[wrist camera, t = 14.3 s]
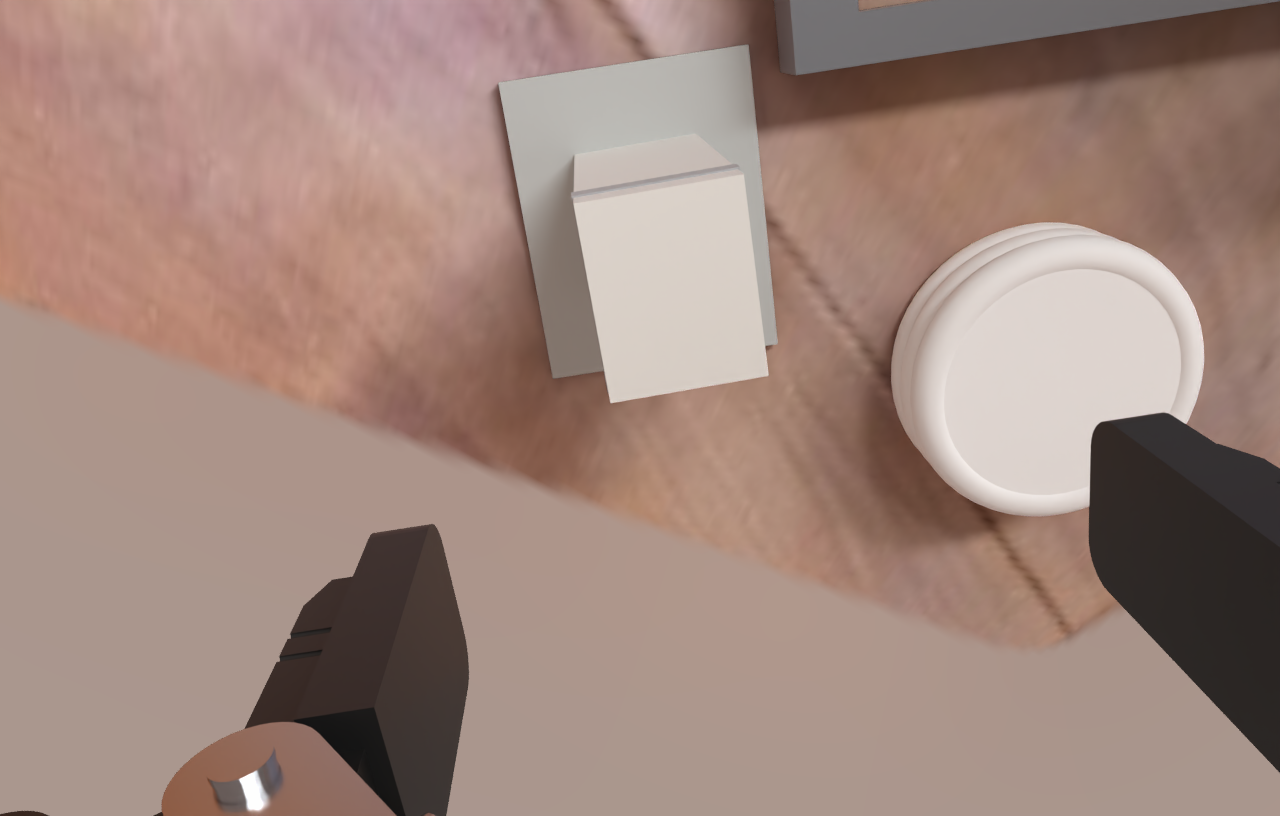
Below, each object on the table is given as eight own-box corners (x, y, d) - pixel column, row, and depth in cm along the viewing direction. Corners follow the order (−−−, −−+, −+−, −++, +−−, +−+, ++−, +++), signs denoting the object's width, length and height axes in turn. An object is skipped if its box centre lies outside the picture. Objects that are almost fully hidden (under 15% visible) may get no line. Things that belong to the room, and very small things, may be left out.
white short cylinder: (848, 290, 35) (876, 316, 32) (1119, 172, 34) (1176, 187, 31) (933, 519, 39) (966, 564, 35) (1181, 418, 38) (1238, 454, 35)
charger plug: (697, 131, 32) (745, 171, 23) (718, 283, 34) (770, 377, 25) (572, 153, 32) (570, 201, 23) (600, 303, 34) (608, 405, 25)
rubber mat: (746, 44, 32) (748, 44, 32) (775, 340, 35) (777, 344, 35) (499, 82, 32) (498, 83, 32) (553, 375, 35) (552, 378, 35)
